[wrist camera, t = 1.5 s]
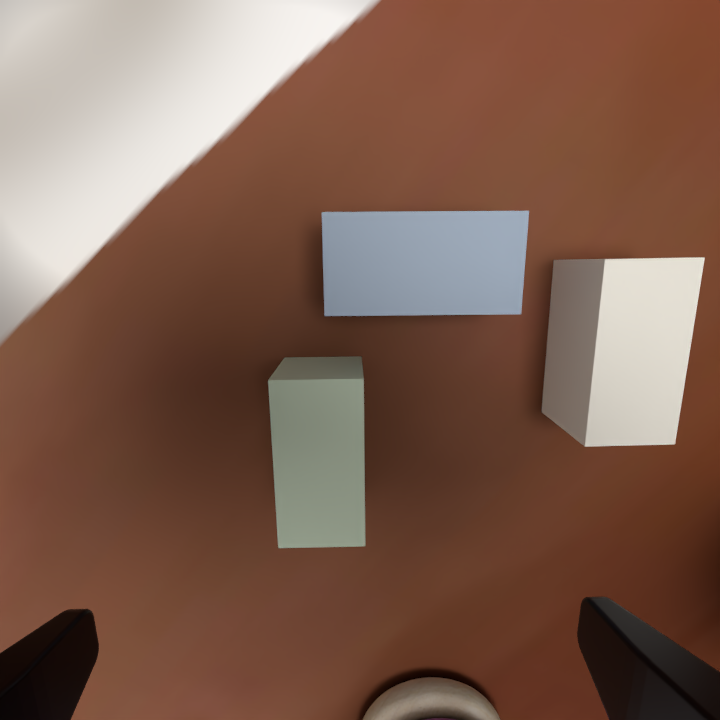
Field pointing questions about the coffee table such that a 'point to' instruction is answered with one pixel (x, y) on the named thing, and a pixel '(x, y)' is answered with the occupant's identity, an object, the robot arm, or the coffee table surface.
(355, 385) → the sage brick
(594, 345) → the cream brick
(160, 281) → the coffee table surface
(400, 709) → the stacking toy
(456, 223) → the slate brick
